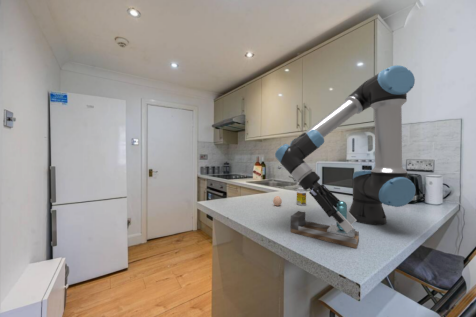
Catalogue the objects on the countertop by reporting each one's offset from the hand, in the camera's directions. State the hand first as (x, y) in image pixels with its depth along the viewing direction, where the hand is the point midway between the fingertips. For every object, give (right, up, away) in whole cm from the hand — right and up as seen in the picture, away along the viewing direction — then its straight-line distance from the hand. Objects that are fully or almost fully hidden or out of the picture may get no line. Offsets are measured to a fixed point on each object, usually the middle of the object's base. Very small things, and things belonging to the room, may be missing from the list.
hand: (352, 226), depth 67 cm
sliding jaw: (-3, -4, +2) cm, 5 cm away
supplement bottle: (0, -5, +53) cm, 53 cm away
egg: (-16, -5, +50) cm, 52 cm away
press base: (-7, -6, +6) cm, 11 cm away
